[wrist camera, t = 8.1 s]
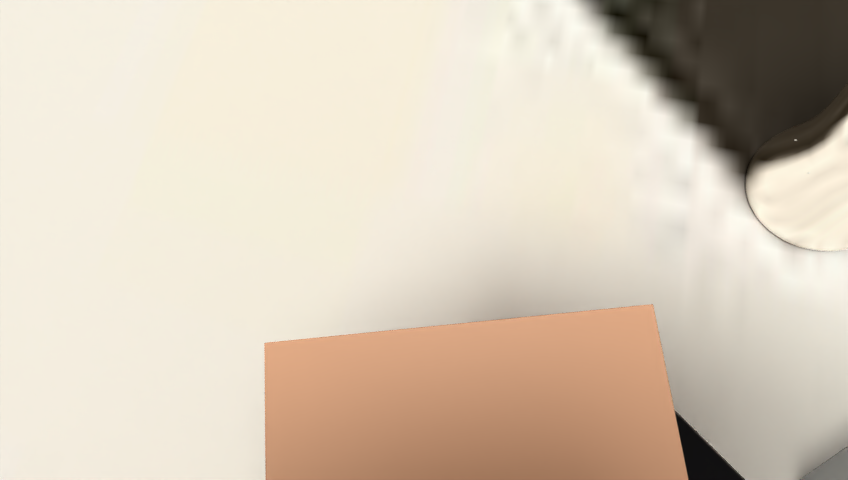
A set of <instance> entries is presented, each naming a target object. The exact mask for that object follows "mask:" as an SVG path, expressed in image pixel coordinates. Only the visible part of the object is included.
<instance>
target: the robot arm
mask: <svg viewBox="0 0 848 480" xmlns="http://www.w3.org/2000/svg"><path fill="white" fill-rule="evenodd" d="M674 411H675V410H674ZM675 416H676V421H677V426H678V431H679V435H680V440H681V445H682V450H683V455H684V460H685V465H686V470H687V475H688V480H745V479H744V478H743V477H742V476H741V475H740V474H739V473H738V472H737V471H736V470H735V469H734V468H733V467H732V466H731V465H730V464H729V463H728V462H727V461H726V460H725V459H724V458H723V457H722V456H721V455H720V454H719V453H718V452H717V451H716V450H715V449H714V448H713V447H712V446H710V445H709V444H708V443H707V442H706V441H705V440H704V439H703V438H702V437H701V436H700V435H699V434H698V433H697V432H696V431H695V430H694V429H693V428H692V427H691V426H690V425H689V424H688V423H687V422H686V421H685V420H684V419H683V418H682V417H681V416H680V415H679V414H678V413H677V412H676V411H675Z"/></svg>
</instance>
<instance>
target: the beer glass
mask: <svg viewBox="0 0 848 480" xmlns="http://www.w3.org/2000/svg"><path fill="white" fill-rule="evenodd" d="M745 186H746V194H747V198H748V202H749V204H750V206H751V209H752V211H753V212H754V214H755V215H756V217H757V218H758V219H759V221H760V222H761V223H762V224H763V225H764V226H765V227H766V228H767V229H768V230H769V231H770V232H772V233H773V234H774V235H776V236H777V237H779V238H780V239H782V240H784V241H786V242H788V243H790V244H792V245H795V246H798V247H801V248H805V249H809V250H816V251H840V250H846V249H848V83H847V84H846V85H845V86H844V88H843V89H842V90H841V91H840V92H839V94H838V95H837V96H836V97H835V98H834V99H833V101H832V102H831V103H830V104H829V105H828V106H827V107H826V108H825V109H824V110H823V111H822V112H821V113H819V114H818V115H817V116H815V117H814V118H812V119H810V120H808V121H806V122H804V123H802V124H799V125H797V126H795V127H792V128H790V129H788V130H786V131H784V132H782V133H780V134H778V135H776V136H774V137H773V138H771V139H770V140H769V141H767V142H766V143H765V144H764V145H763V146H762V147H761V148H760V149H759V150H758V151H757V152H756V154H755V155H754V157H753V158H752V160H751V162H750V164H749V167H748V170H747V174H746V183H745Z"/></svg>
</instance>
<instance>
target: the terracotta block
mask: <svg viewBox="0 0 848 480" xmlns="http://www.w3.org/2000/svg"><path fill="white" fill-rule="evenodd" d="M265 457H266V480H688V475H687V470H686V465H685V460H684V455H683V450H682V445H681V440H680V435H679V431H678V426H677V421H676V416H675V411H674V406H673V401H672V396H671V391H670V386H669V381H668V376H667V371H666V366H665V361H664V357H663V352H662V347H661V342H660V337H659V332H658V327H657V322H656V317H655V312H654V307H653V304H651V305H641V306H631V307H621V308H611V309H600V310H590V311H580V312H570V313H560V314H550V315H540V316H530V317H520V318H510V319H500V320H490V321H480V322H470V323H460V324H450V325H440V326H430V327H420V328H410V329H399V330H389V331H379V332H369V333H359V334H349V335H339V336H329V337H319V338H309V339H299V340H289V341H279V342H269V343H265Z"/></svg>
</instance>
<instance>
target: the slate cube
mask: <svg viewBox="0 0 848 480" xmlns="http://www.w3.org/2000/svg"><path fill="white" fill-rule="evenodd" d="M800 480H848V446H847V447H846V448H845V449H843V450H842V451H840V452H839V453H837V454H836V455H835V456H833V457H832V458H830V459H829V460H827V461H826V462H825V463H823V464H822V465H820V466H819V467H817V468H816V469H814V470H813V471H812V472H810V473H809V474H807V475H806V476H804V477H803V478H802V479H800Z"/></svg>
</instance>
